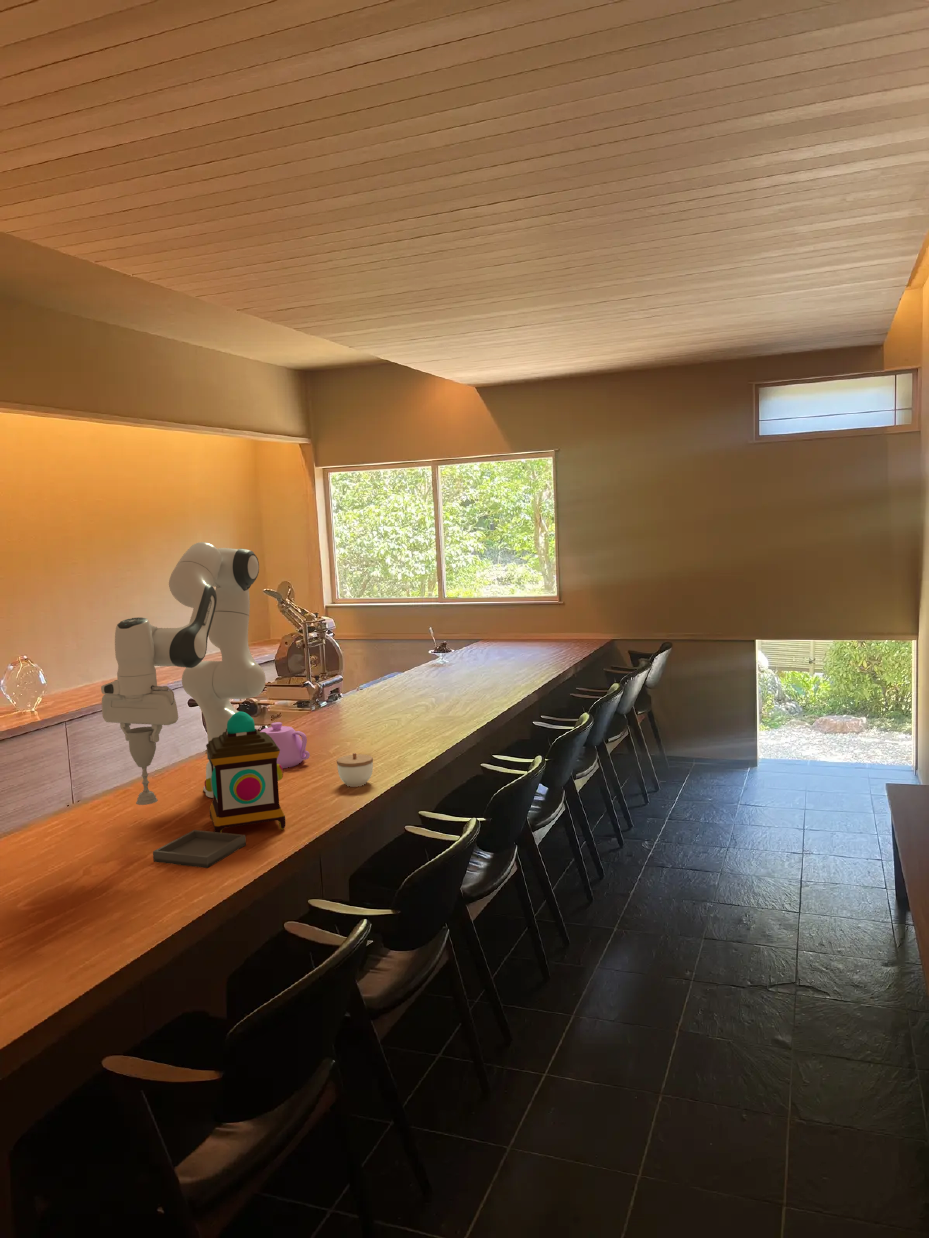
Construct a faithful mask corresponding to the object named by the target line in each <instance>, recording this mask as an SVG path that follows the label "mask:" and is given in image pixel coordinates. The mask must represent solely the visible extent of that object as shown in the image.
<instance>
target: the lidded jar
mask: <svg viewBox="0 0 929 1238" xmlns="http://www.w3.org/2000/svg"><path fill="white" fill-rule="evenodd" d="M373 762H374V757H373V756H372V755H369V754H361V753H356V752H352V754H348V755H343V756H340V757H338V758H337V759H336V765H337V773H338V776H339V779H340V780H341V781H342V782H343V784H345V786H346V785H347V786H346V787H349V786H350V787H349V788H356V787H358V786H359V787H363V786H365V785H367V783H368V781H370V779H371V777H372V774H373V768H374V763H373ZM364 784H365V785H364ZM362 785H363V786H362ZM359 787H358V788H359Z"/></svg>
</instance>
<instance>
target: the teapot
mask: <svg viewBox="0 0 929 1238" xmlns="http://www.w3.org/2000/svg"><path fill="white" fill-rule="evenodd" d="M259 731H260V732H265V733H266V734H268V735H269V736H270V737H271V738H272V739H273V740H274V742H275V743H276V745H277V746H278V748H279V749H280V753H279V756H278V758H277V764H280V765H281V767H282V769H283V770H284V769H289V768H292V767H295V766H298V765H299V763H300V764H301V763H302V762H303V761H305V760H308V759H309V758H310V756H311V755H310V752H309V751H308V750H306V748H307V744H308V743H307V742H308V737H307V735H306V734H305V733H304V732H302V731H299V730H297V731H296V730H295V729H294V727H292V726H286V725H285V726H284V725H283V722H280V721H277V722H272V723H270V727H266V728H263V729H261V730H259ZM288 767H289V768H288Z"/></svg>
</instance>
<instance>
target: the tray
mask: <svg viewBox="0 0 929 1238" xmlns="http://www.w3.org/2000/svg"><path fill="white" fill-rule="evenodd" d="M246 840H247V839H246V834H238V833H230V832H229V833H228V832H221V833H220V832H215V831H207V830H197V829H193V830H191V831H190V832H187V833H186V834H183V835H181V836H180V837H178V838H176V839H174V840H172V841H170V842H168V843H166V844H165V845H162V846H161V847H159V848H156V849H155V850H153V851H152V858H153V863H158V864H159V863H161V864H169V865H178V866H186V867H193V868H194V867H197V868H203V869H204V868H205V869H208V868H210V867H212V866H214V865H215V864H217V863H218V862H220V861H222V860H223V859H225V858H227V857H229V856H230V855H232V854H233V853H235V852H237V851H238V850H240V849H242V848H243V847H245V846H247V841H246Z"/></svg>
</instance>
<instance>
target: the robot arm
mask: <svg viewBox="0 0 929 1238" xmlns="http://www.w3.org/2000/svg"><path fill="white" fill-rule="evenodd" d="M259 573H260V563H259V558H258V557H257V555H256V554H255V552H254V551H253V550H250V549H246V548H231V547H219V548H217V547H216V546H215V545H213V544H212V543H209V542H205V541H199V542H196V543H194V544H192V545H191V546H190V547H189V548H188V549H187V550H186V551H185V553H184V554H183V555H182V556H181V557H180V559H179V560H178V561H177V563H176V565H175V566H174V569H173V570H172V572H171V574H170V576H169V580H168V587H169V591H170V593H171V594H172V596H173V597H174V599H176V601H178V602H179V603H181V605H184V606H185V607H188V608H192V613H191V615H190V619H189V623H187V624H186V625H184V626H180V627H157V626H154V625H153V624H151V623H150V621H149V619H148V618H145V617H140V616H139V617H131V618H127V619H123V620H121V621H120V622H118V623H117V624H116V627H115V632H114V652H115V653H114V654H115V659H116V662H117V671H116V672H117V673H116V677H117V679H115V680H114V681H110V682H108V683H105V684H102V685H101V687H100V691H101V694H103V695H102V697H101V715H102V719H103V720H104V721H105V722H106V723H112V724H113V723H114V724H119V726H120V729H121V730H122V732H123V734H124V737H125V741H126V742H129V737H128V735H127V733H126V731H127V730H129V729H131V727H130V726H131V725H132V724H134V725H151V727H152V729H154V730H153V733H152V735H149V738H150V742H156V743H158V742H160V735H159V734H160V733H161V732H162V729H163V726H170V725H173V724H175V723H177V722H178V720H179V711H178V706H177V702H176V699H175V692H174V691H173V690H172V689H171V688H170V687H169V686H166V685H163V686H160V685H158V680H157V678H158V677H157V671H156V667H178V668H185V669H184V670H183V672H182V676H181V684H182V688H183V690H184V692H185V693H186V694H187V695H189V696H190V697H191V698H192V699H193V700H194V701H195V703H196V704H197V705H198V708H199V709H200V710H201V712H202V715H203V718H204V721H205V724H206V725H205V726H206V733H207V735H206V736H207V743H208V742H209V741H211V740H212V738H215V737H219V736H220V735H222V734H223V732H226V729H227V722H228V720H229V719H230V718H231V717H232V715H234V714H235V713H237V712H239V710H237V709H236V708H235V707H234V705H232V703H231V701H230V700H245V699H251V698H255V697H258V696H259V695H261V693H262V692H263V690H264V689H265V686H266V681H267V680H266V679H267V678H266V674H265V673H266V672H265V671H264V669H263V668H262V666H261V665H260V664H259V663H257V661H256V660H255V658H254V656H253V655H252V653H251V650H250V645H249V623H250V622H249V621H250V612H251V611H250V608H251V603H250V599H251V598H250V588H251V586H252V585H253V584H254V583H255V582H256V581H257V579H258V576H259ZM208 639H209V641H210V642H211V644H212V645H213V646H215V647H216V648H218V649H219V650H220V653H221V660H204V658H205V657H206V654H207V649H208ZM206 755H207V756H206V759H207V760H208V762H207V763H206V766H205V780H206V779H208V778H211V776H212V768H211V759H210V756H209V753H208V750H207V749H206ZM203 791H204V793H205V796H206V797H208V798H212V799H213V791H212V792H209V791H207V790H206V789H205V785H204V786H203Z"/></svg>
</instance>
